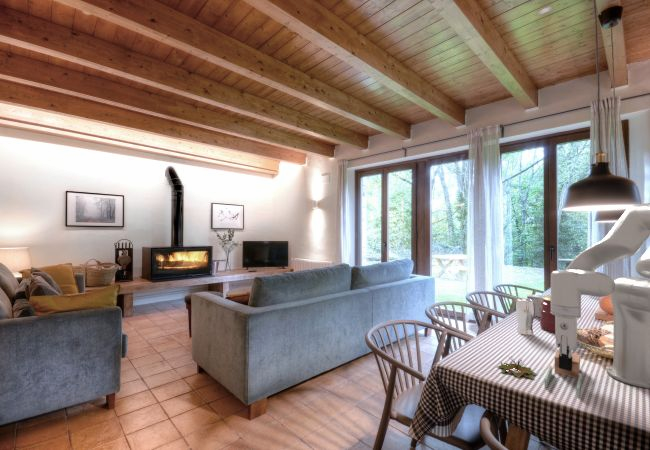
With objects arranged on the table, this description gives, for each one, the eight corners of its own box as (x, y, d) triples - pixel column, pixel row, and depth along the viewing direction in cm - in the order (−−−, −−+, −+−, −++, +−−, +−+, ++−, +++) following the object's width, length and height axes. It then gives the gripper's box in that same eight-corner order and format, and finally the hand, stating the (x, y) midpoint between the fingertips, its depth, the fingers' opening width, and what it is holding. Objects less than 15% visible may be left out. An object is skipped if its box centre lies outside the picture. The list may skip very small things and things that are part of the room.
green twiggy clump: (541, 385, 91) (541, 369, 91) (495, 375, 97) (495, 361, 97) (536, 369, 102) (536, 355, 102) (495, 361, 107) (495, 348, 108)
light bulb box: (550, 315, 165) (550, 296, 165) (551, 318, 159) (551, 298, 159) (526, 312, 171) (526, 293, 171) (527, 315, 165) (527, 295, 165)
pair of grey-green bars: (581, 381, 93) (581, 373, 93) (579, 397, 84) (579, 388, 84) (549, 373, 98) (549, 365, 98) (544, 387, 89) (544, 378, 89)
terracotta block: (579, 370, 101) (579, 354, 101) (578, 378, 95) (578, 362, 95) (557, 364, 105) (557, 349, 105) (554, 372, 99) (554, 356, 99)
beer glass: (538, 334, 134) (538, 300, 134) (527, 336, 132) (527, 302, 132) (522, 329, 141) (523, 297, 141) (512, 331, 138) (512, 298, 138)
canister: (570, 337, 132) (571, 296, 132) (536, 329, 142) (536, 291, 142) (578, 331, 140) (578, 292, 141) (544, 323, 150) (544, 288, 151)
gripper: (579, 317, 88) (579, 381, 88) (582, 308, 99) (582, 364, 99) (547, 312, 93) (547, 373, 93) (553, 304, 104) (553, 358, 104)
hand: (565, 368), depth 96 cm, fingers closed
